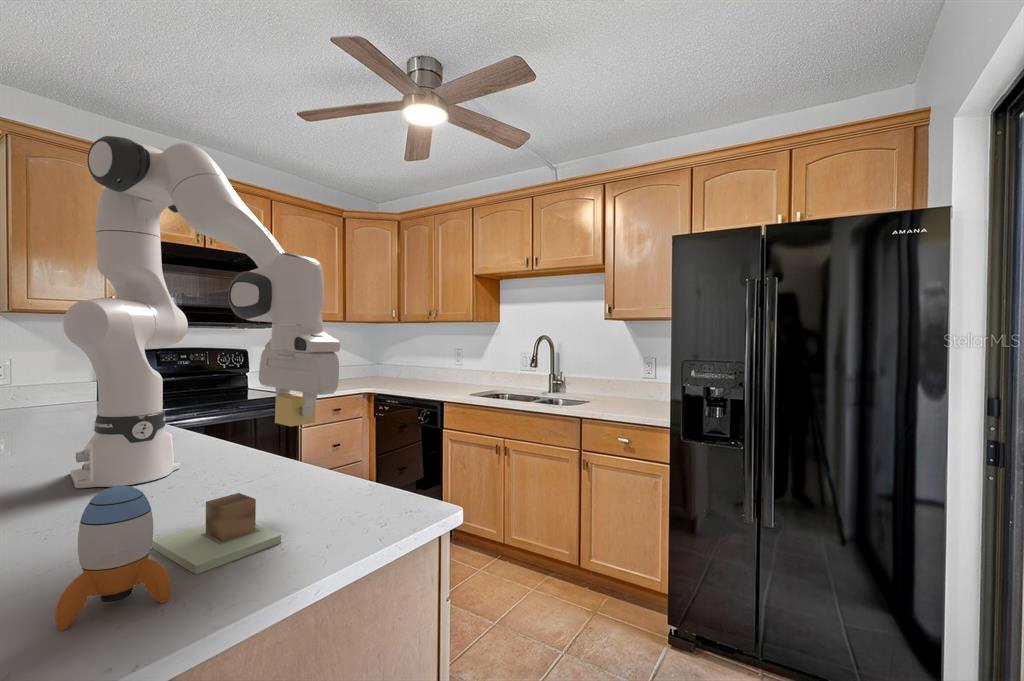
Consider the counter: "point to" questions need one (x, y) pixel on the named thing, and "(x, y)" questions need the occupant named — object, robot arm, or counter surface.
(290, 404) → the ochre block
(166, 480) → the counter surface
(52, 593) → the counter surface
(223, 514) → the walnut block
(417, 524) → the counter surface
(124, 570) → the toy rocket
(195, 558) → the plate
